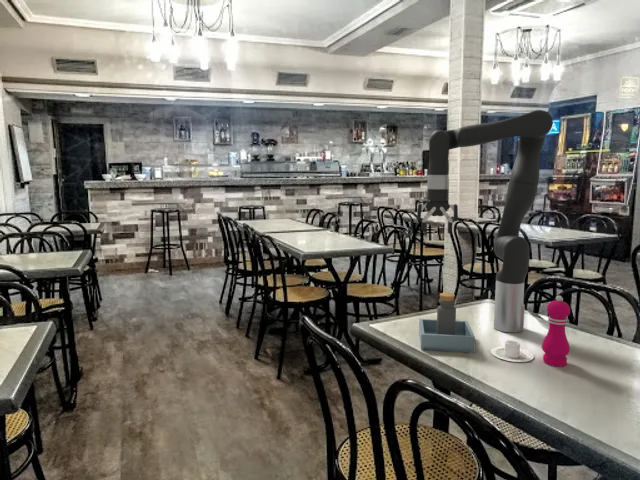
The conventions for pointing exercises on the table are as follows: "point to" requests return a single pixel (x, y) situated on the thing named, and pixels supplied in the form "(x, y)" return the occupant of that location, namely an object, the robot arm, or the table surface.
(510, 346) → the candle holder
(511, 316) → the robot arm
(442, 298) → the bottle
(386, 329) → the table surface
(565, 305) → the pepper mill
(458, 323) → the tote
